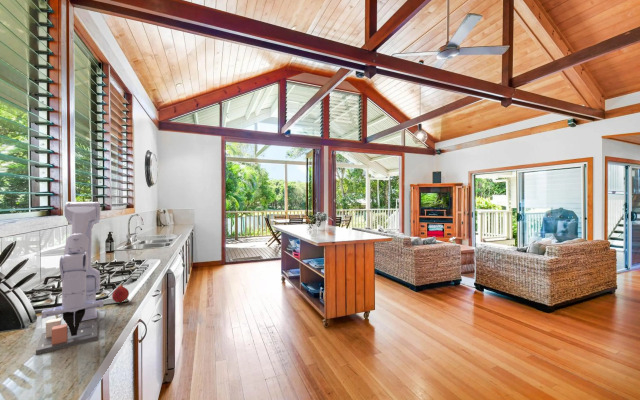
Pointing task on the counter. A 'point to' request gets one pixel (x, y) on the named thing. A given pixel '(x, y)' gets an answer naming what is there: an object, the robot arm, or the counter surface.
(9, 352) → the counter surface
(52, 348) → the grey base plate
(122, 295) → the onion
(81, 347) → the counter surface
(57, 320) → the fader cream
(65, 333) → the block
